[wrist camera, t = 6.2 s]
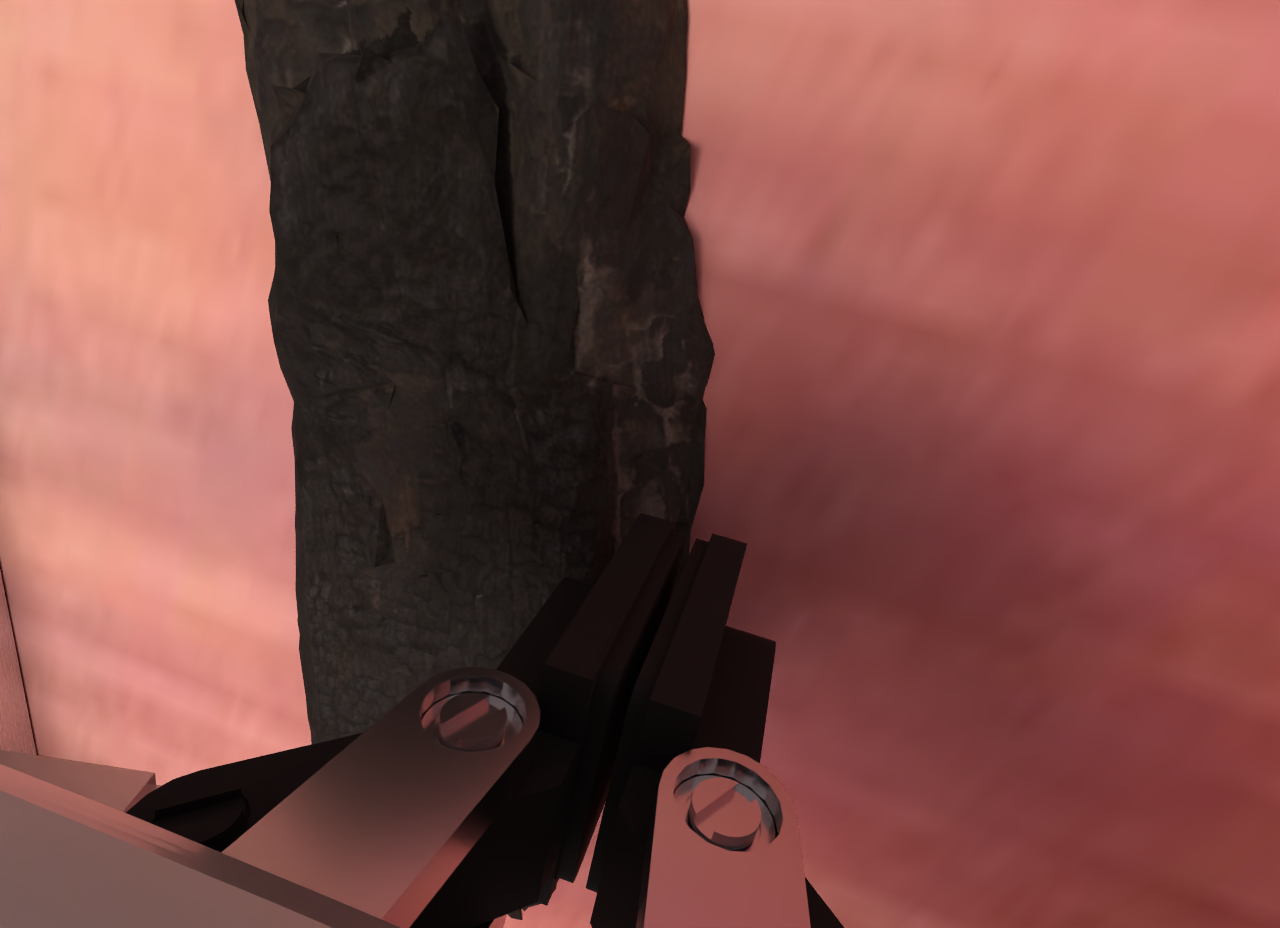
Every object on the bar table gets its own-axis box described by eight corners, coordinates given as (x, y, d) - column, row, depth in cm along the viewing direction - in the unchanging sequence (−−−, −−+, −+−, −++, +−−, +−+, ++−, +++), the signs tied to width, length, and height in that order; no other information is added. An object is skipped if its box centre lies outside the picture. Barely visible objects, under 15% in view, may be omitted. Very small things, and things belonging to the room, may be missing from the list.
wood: (646, 940, 16) (608, 1092, 13) (359, 845, 18) (271, 965, 15) (883, -364, 8) (913, -666, 5) (314, -354, 9) (100, -590, 7)
